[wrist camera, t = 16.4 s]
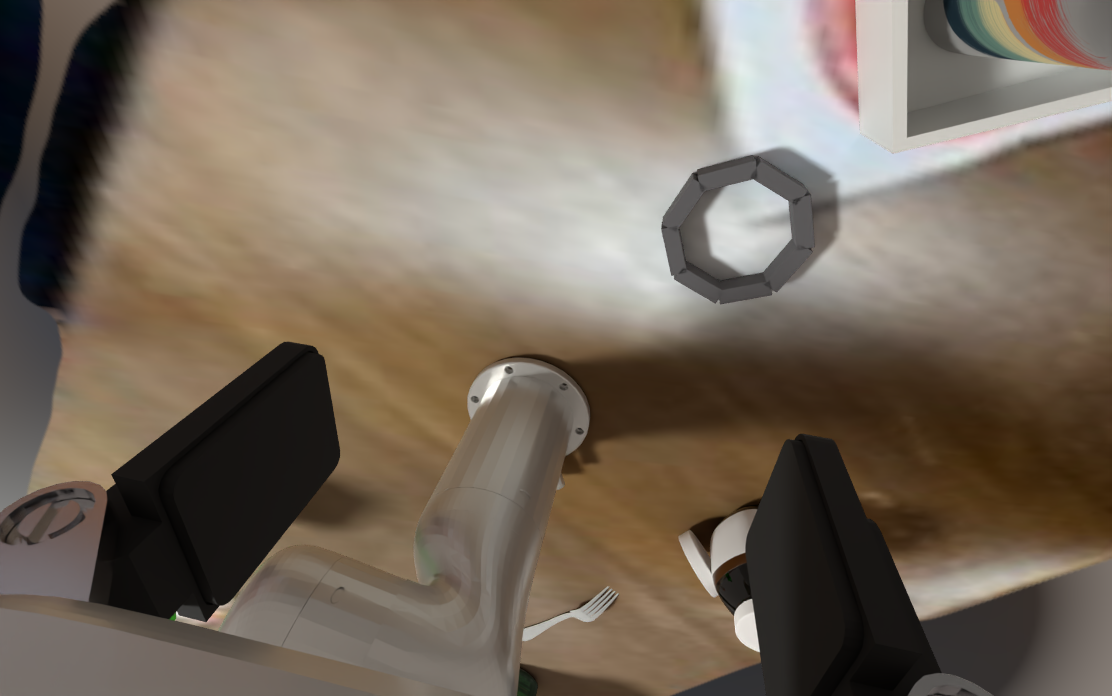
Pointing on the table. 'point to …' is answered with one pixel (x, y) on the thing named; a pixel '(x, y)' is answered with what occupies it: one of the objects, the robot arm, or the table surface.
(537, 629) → the fork
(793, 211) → the collar
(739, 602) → the spread jar
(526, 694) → the coffee jar
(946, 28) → the lotion bottle
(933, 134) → the bin
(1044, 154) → the table surface
